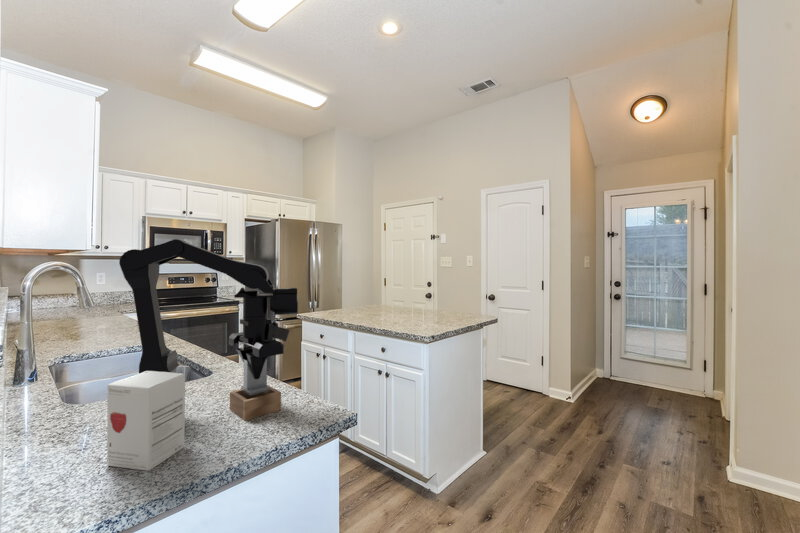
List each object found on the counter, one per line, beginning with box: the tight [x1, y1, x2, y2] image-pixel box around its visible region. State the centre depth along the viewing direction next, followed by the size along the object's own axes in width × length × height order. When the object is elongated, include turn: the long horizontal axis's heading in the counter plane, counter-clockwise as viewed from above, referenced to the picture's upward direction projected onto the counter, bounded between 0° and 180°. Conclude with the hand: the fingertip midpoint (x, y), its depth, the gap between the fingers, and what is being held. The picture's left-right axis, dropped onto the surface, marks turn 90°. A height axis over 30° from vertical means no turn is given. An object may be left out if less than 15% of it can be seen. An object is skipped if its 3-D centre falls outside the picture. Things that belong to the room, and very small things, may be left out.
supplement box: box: [106, 371, 186, 472], centre depth 70 cm, size 9×9×15 cm
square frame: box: [229, 386, 282, 422], centre depth 92 cm, size 9×9×4 cm
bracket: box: [240, 358, 271, 396], centre depth 92 cm, size 5×5×8 cm
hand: (254, 377), depth 92 cm, fingers closed on bracket
